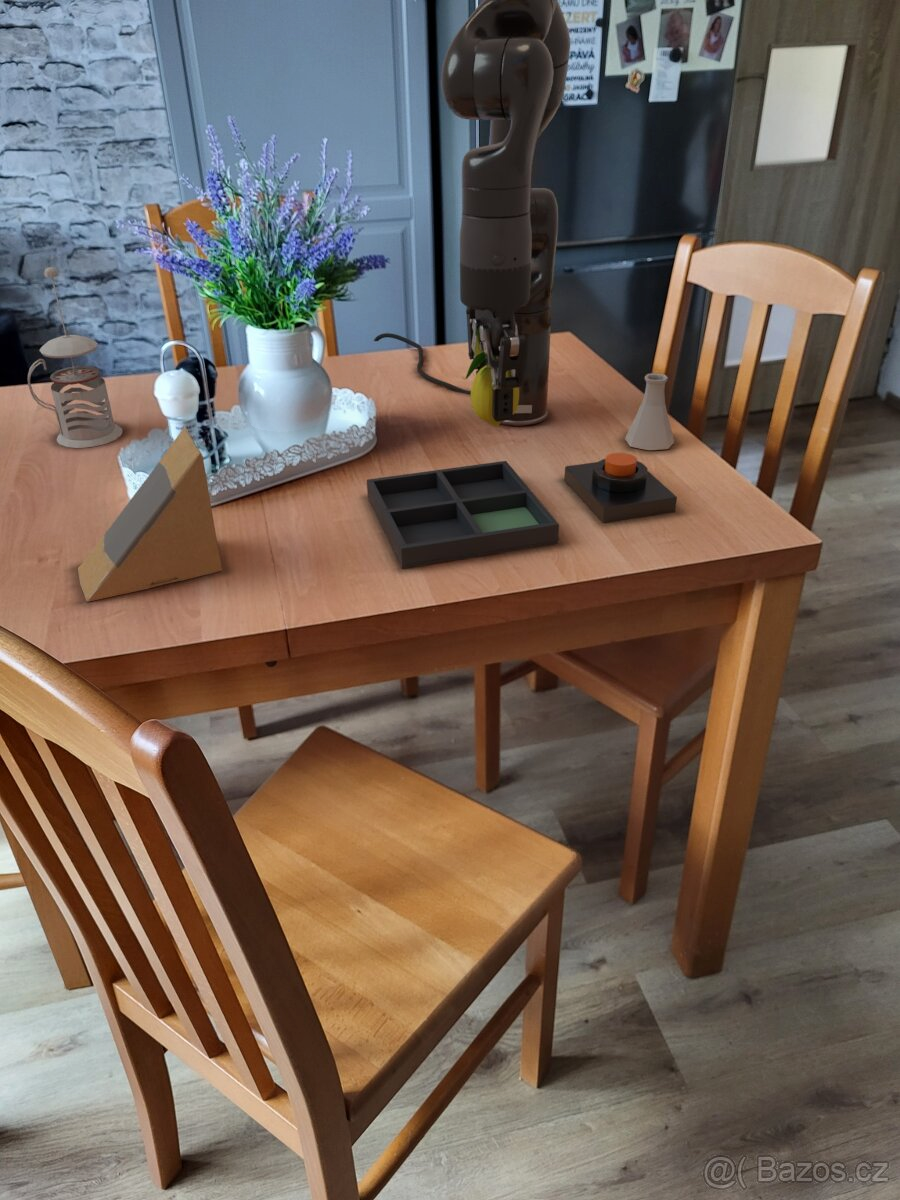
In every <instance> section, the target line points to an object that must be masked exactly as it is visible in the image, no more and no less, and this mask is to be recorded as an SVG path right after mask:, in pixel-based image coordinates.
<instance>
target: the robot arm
mask: <svg viewBox="0 0 900 1200" xmlns="http://www.w3.org/2000/svg"><path fill="white" fill-rule="evenodd" d="M570 53H571V37H570V31H569V28H568V25H567V21H566V18H565V16H564V13H563V10H562V8H561V5H560V3H559V1H558V0H482V1H481V2H480V3H479V5H478V6H477V7H476V8H475V9H474V11H473V12H472V14H471V15H470V16H469V18H468V19H467V20H466V21H465V23H464V24H463V25H462V27H460V29H459V30H458V31H457V33H456V35H455V36H454V38H453V39H452V41H451V43H450V44H449V47H448V49H447V51H446V54H445V57H444V59H443V63H442V67H441V74H440V88H441V94H442V97H443V100H444V103H445V105H446V107H447V108H448V109H449V111H450V112H451V113H452V114H454V115H455V116H456V117H458V118H461V119H463V120H469V121H472V120H473V121H490V122H489V123H490V124H489V141H488V145H484V146H479V147H474V148H472V149H471V150H468V151H467V152H466V153H465V154H464V156H463V158H462V162H461V222H460V229H459V296H460V297H459V298H460V302H461V304H463V305H464V306H465V307H466V309H465V314H466V328H467V329H466V331H467V345H468V346H467V347H468V357H469V359H470V360H473V359H474V358H475V356H477V355H478V354H480V353H482V352H484V355H485V360H484V361H483V362H482V363H481V364H479V365H478V366H477V368H476V369H475V370H474V371H475V376H476V375H477V373H478V372H479V370H480V369H481V368H483V367H484V366H486V367H487V368H489V369H490V370H491V378H492V387H493V388H492V417H493V419H494V420H495V421H497V422H498V421H502V422H501V423H500V424H501V425H506V426H513V427H514V426H515V427H518V426H519V427H521V426H522V427H523V426H531V425H536V424H539V423H541V422H543V421H545V420H546V419H547V418H548V395H549V393H548V392H549V376H550V372H549V371H550V354H551V353H550V349H551V323H552V304H553V303H552V302H553V290H554V279H555V263H556V253H557V252H556V251H557V244H558V233H559V232H558V231H559V206H558V201H557V197H556V196H555V193H554V192H553V191H552V190H551V189H549V188H544V187H535V188H534V187H533V188H532V172H533V162H534V156H535V151H536V146H537V142H538V139H539V138H540V136H541V135H542V133H543V132H544V131H545V129H546V128H547V127H548V125H549V124H550V122H551V121H552V120H553V118H554V117H555V114H556V113H557V111H558V109H559V108H560V106H561V104H562V102H563V99H564V96H565V90H566V85H567V75H568V68H569V62H570ZM384 338H391V339H395V340H398V341H400V342H403V343H405V344H407V345H409V346H412V347H413V348H416V349H417V351H418V359H419V360H418V363H417V365H416V366H417V367H416V369H417V373H418V374H419V375H420V376H421V377H422V378H423V379H425V380H426V381H428V382H430V383H432V384H435V385H438V386H441V387H444V388H447V389H448V390H451V391H452V392H453V391H454V392H455V393H460V394H465V395H470V396H471V390H466V389H463V388H460V387H458V386H456V385H453V384H451V383H448V382H446V381H444V380H441V379H438V378H435V377H433V376H431V375H429V374H427V373H426V372H425V371H424V370H423V364H424V359H425V358H424V349H423V347H422V346H421V345H420V344H419V343H417V342H416V341H414V340H411V339H409V338H407V337H404V336H402V335H399V334H396V333H391V332H389V333H388V332H386V333H381V334H379V335H377V336H375V338H374V339H373V342H379V341H380V340H382V339H384ZM498 356H499V357H498ZM494 357H496V360H495V359H494ZM507 371H508V377H506V372H507ZM513 388H519V402H518V406H517V409H516V411H515V413H514V414H513ZM500 424H499V425H500Z"/></svg>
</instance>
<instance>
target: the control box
mask: <svg viewBox="0 0 900 1200" xmlns="http://www.w3.org/2000/svg"><path fill="white" fill-rule="evenodd" d="M605 459H606V458H603V459H601V460H599V461H593V462H587V463H580V464H573V465H566V466H564V476H563V477H564V479H563V482H565V484H566V485H567V486H568V487H569V488H570V489H571V490H572V491H573V492H574V493H575V494H576V495H577V497H578V498H579V499H580V500H581V501H582V502H583V503H584V504H585V505H586V506H587V507H588V509H589V510H590V511H591V512H592V513H593V515H595V516H596V517H597V519H599V521H600V522H601V523H602V524H607V523H613V522H614V523H615V522H620V521H628V520H632V519H633V520H634V519H638V518H639V519H640V518H646V517H647V518H648V517H651V516H652V517H653V516H659V515H664V514H665V515H666V514H671V513H672V514H673V513H676V509H677V501H678V497H677V495H676V494H674V493H673V492H672V491H671V490H670V489H669V488H668V487H666V485H664V483H662V482H661V481H660V480H658V478H657V477H656V476H654V475H653V474H652V473H651V472H650V471H648V467H647V466H646V465H645V464H644V463H643V462H641V461H639V460H637V464H636V473H635V474H633V475H630V476H614V475H611V474H608V473H606V472H605Z"/></svg>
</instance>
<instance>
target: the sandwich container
mask: <svg viewBox="0 0 900 1200" xmlns="http://www.w3.org/2000/svg"><path fill="white" fill-rule="evenodd" d="M208 485H209V484H208V479H207V473H206V466H205V461H204V455H203V454H202V452H201V450H200V449H199V447H198V446H197V444H196V442H195V441H194V439H193V437H192V435H191V434H190V432H189V430H188V428H187V427H186V426H184V427H183V428H182V429H181V431H180V432H179V434H177V436H176V438H175V439H174V440H173V442H172V443H171V445H170V446H169V447H168V449H167V450H166V451H165V452H164V454H163V456H162V457H161V459H160V460H159V461H158V463H157V464H156V465H155V467H154V468H153V470H152V471H151V472H150V473H149V475H148V476H147V477H146V479H145V480H144V482H143V483H142V484H141V486H139V488H138V489H137V491H136V492H135V493H134V494H133V496H132V497H131V499H130V500H129V501H128V503H127V504H126V505H125V507H123V510H122V511H120V513H119V514H118V516H117V517H116V519H115V520H114V521H113V522H112V524H111V525H110V527H109V528H108V529H107V531H106V532H105V533H104V535H103V536H102V537H101V538H100V540H98V542H97V544H96V545H95V546H93V549H92V550H91V551H90V553H88V555H87V556H86V558H85V559H84V560H83V561H82V563H81V564H80V566H79V567H78V568H77V572H78V579H79V585H80V588H81V591H82V593H83V596H84V598H85V601H86V602H89V603H90V602H94V601H98V600H102V599H106V598H107V599H108V598H112V597H117V596H120V595H125V594H126V595H127V594H131V593H135V592H139V591H144V590H148V589H152V588H156V587H159V586H160V587H161V586H163V585H164V586H165V585H169V584H173V583H176V582H182V581H187V580H191V579H194V578H198V577H203V576H206V575H211V574H215V573H217V572H221V571H223V569H222V562H221V557H220V550H219V545H218V538H217V533H216V526H215V521H214V514H213V509H212V503H211V497H210V491H209V486H208Z"/></svg>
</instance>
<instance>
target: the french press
mask: <svg viewBox="0 0 900 1200" xmlns="http://www.w3.org/2000/svg"><path fill="white" fill-rule="evenodd" d="M43 274H44V277H45V278H50V279H51V282H52V287H53V290H54V294H55V299H56V302H57V307H58V311H59V315H60V319H61V324H62V327H63V332H64V335H60V336H57V337H55V338H52V339H50V340H48V341H47V342H46V343H44V344H43V345H42V346H41V347H40V348H39V352H40V353H41V355H42V356H43V357H46V358H51V359H69V358H70V360H71V367H70V366H69V367H64V368H62V369H59V370H56V371H53V372H52V373H51V374H50V377H49V379H50V380H51V382H52V383H51V385H50V390H51V395H52V398H53V402H54V404H52V403H48V402H45V401H44V400H41V399H40V398H39V397H38V396H37V394H36V393H35V392H34V391H33V387H32V384H31V377H32V373H33V372H34V370H35V369H36V367H38V366H40V364H41V365H42V366H43V370H45V371H47V368H48V367H47V364H46V360H45V359H44V358H38V359H37V360H36V361H34V362H33V363H32V364H31V366H30V367H29V370H28V373H27V386H28V389H29V392H30V395H31V396H32V399H33V400H34V401H35V402H36V403H37V404H38V405H39V406H41V407H42V408H44V409H47V410H50V411H53V412H55V416H56V419H57V423H58V427H59V430H60V433H59V434H58V435H57V437H56V440H55V441H56V442H57V443H58V445H60V446H62V447H66V448H72V449H74V448H75V449H84V448H93V447H98V446H102V445H106V444H109V443H111V442H113V441H116V440H117V439H118V438H120V437H121V436H123V435H122V434H123V432H124V431H123V428H122V427H121V426H119V425H118V424H117V423H115V421H114V417H113V411H112V407H111V402H110V399H109V394H108V390H107V384H106V380H105V379H104V378H103V377H101V376H100V374H101V370H100V368H98V367H95V366H94V367H93V366H90V365H89V366H88V365H82V366H80V365H78V366H75V364H74V360H73V358H76V357H82V356H85V355H90V354H91V353H93V352H95V351H96V350H97V348H98V346H99V344H98V342H97V341H96V340H94V339H92V338H89V337H86V336H83V335H79V334H67V331H66V327H65V323H64V318H63V314H62V309H61V306H60V305H61V304H60V301H59V297H58V293H57V289H56V284H55V280H54V278H56V277H59V275H60V274H59V271H58V269H56V268H55V267H52V266H50V267H46V268H45V269H44V271H43ZM69 385H70V386H73V385H81V386H85V387H87V388H90V389H85V388H83V387H70V388H68V389H66V390H64V391H63V392H61V391H62V390H63V389H64V388H66V387H67V386H69ZM74 401H82V402H83V403H72V402H74ZM84 402H86V403H87V402H88V403H90V404H93V405H96V406H93V405H89V404H88V403H87V404H86V403H84ZM69 403H70V404H69ZM75 409H78V410H77V411H74V410H75ZM86 410H87V411H86ZM72 411H74V412H72ZM89 411H91V412H89ZM92 412H96V413H99V414H95V413H92Z"/></svg>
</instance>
